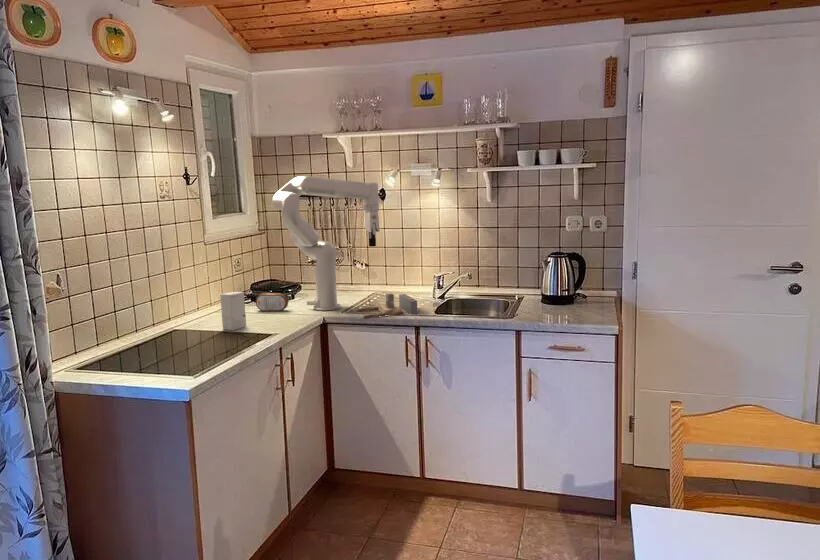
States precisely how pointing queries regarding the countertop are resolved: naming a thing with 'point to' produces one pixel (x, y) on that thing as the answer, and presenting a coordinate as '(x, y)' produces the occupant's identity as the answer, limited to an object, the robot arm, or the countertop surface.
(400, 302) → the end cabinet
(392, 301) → the post on wide base
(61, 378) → the countertop surface
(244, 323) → the skincare box
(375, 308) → the track
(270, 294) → the tin
